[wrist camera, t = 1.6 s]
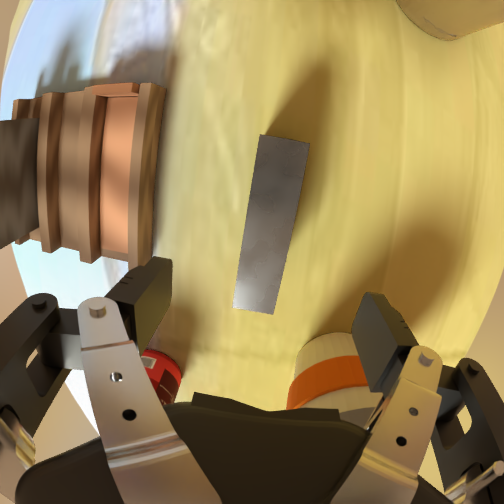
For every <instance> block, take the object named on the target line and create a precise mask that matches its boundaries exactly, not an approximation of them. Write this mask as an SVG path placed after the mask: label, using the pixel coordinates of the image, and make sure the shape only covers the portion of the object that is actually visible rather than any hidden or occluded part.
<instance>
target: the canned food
mask: <svg viewBox="0 0 504 504" xmlns="http://www.w3.org/2000/svg"><path fill="white" fill-rule="evenodd" d="M141 361H142V363H143V365H144V368H145V370H146V372H147V375H148V377H149V379H150V381H151V384H152V386H153V388H154V390H155V392H156V394H157V397H158V399H159V401H160V403H161V405H162V406H163V405H167V404H171V403H174V401H175V398H176V395H177V392H178V389H179V386H180V383H181V371H180V369H179V367H178V365H177V364H176V363H175V362H174V361H173V360H172V359H171V358H169V357H168V356H166V355H165V354H162V353H160V352H157V351H154V350H147V349H145V350H144V352H143V354H142V356H141Z"/></svg>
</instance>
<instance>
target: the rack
mask: <svg viewBox="0 0 504 504" xmlns="http://www.w3.org/2000/svg"><path fill="white" fill-rule="evenodd" d="M165 95H166V89H165V88H163V87H161V86H158V85H156V84H153V83H140V85H139V84H136V83H133V82H132V83H115V84H103V85H93V86H91V87H85V89H84V91H76V92H69V93H58V92H50V93H44V94H43V96H42V97H39V98H34V99H17V100H14V103H13V111H12V120H4V121H0V249H2V248H3V247H5V246H7V245H8V244H10V243H12V242H14V241H15V244H18V245H20V244H22V243H24V242H26V241H27V240H29V239H32V240H36V241H40V242H41V245H42V251H44V252H47V253H53V252H54V251H56V250H57V249H59V248H60V247H65V248H69V249H73V250H77V251H79V253H80V261H82V262H86V263H90V264H92V263H93V262H94V261H96V260H97V259H98V258H99V257H101V256H104V257H108V258H113V259H117V260H122V261H127V262H128V269H129V270H131V269H133V268H135V267H137V266H140V265H141V266H145V265H146V264H147V263H148V261H149V260H150V259H151V258H152V222H153V202H154V187H155V175H156V164H157V154H158V145H159V136H160V129H161V121H162V114H163V107H164V101H165Z"/></svg>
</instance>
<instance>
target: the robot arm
mask: <svg viewBox="0 0 504 504" xmlns="http://www.w3.org/2000/svg"><path fill="white" fill-rule="evenodd" d="M396 1H397V3H398V4H399V6H400V7H401V9H402V10H403V12H404V13H405V14H406V15H407V16H408V18H409V19H410V20H412V21H413V22H414V23H415V24H416V25H417V26H418V27H420V28H421V29H422V30H424V31H425V32H427V33H429V34H430V35H432V36H434V37H437V38H439V39H443V40H455V39H458V38H460V37H463V36H466V35H468V34H471V33H473V32H476V31H479V30H482V29H485V28H487V27H490V26H493V25H496V24H499V23H502V22H504V0H396ZM172 267H173V264H172V260H171V259H167V258H161V257H156V256H153V257H152V258H151V259H150V260H149V261H148V263H147V264H146V265H145V266H141V265H140V266H137V267H135V268H133V269H131V270H129V272H128V273H127V274H126V275H125V276H124V277H123V278H122V279H121V280H120V281H119V282H118V283H117V284H116V285H115V286H114V287H113V288H112V289H111V290H110V291H109V292H108V293H107V294H106V295H105V297H94V298H90V299H87V300H85V301H83V302H82V303H81V304H80V305H79V306H78V309H65V308H59V306H58V301H57V298H56V297H55V296H53V295H51V294H48V293H39V294H35V295H32V296H30V297H29V298H27V299H26V300H25V301H24V302H23V303H22V304H21V305H20V306H18V307H17V308H16V309H15V310H14V311H13V312H12V313H11V314H10V315H9V316H8V317H7V318H6V319H5V320H4V321H3V322H2V323H1V324H0V493H1V494H2V495H4V496H5V497H7V498H8V499H10V500H11V501H12V502H14V503H15V504H504V403H503V401H502V399H501V397H500V396H499V394H498V392H497V390H496V389H495V387H494V385H493V383H492V382H491V380H490V378H489V377H488V375H487V373H486V372H485V370H484V369H483V367H482V366H481V365H480V364H479V363H478V362H476V361H474V360H472V359H470V358H462V359H461V360H460V361H459V363H458V364H457V366H456V367H455V368H453V367H449V366H446V365H443V363H442V359H441V358H440V356H439V355H438V354H437V353H436V352H435V351H434V350H432V349H430V348H428V347H425V346H420V345H419V344H418V342H417V340H416V339H415V337H414V335H413V334H412V332H411V330H410V329H408V328H409V327H408V326H407V324H406V323H405V321H404V319H403V318H402V316H401V314H400V313H399V312H398V311H396V310H395V309H394V308H393V307H391V305H390V304H389V302H388V301H387V299H386V297H385V296H384V295H383V294H378V293H371V292H366V293H365V294H364V296H363V299H362V301H361V304H360V306H359V309H358V312H357V314H356V317H355V319H354V322H353V325H352V338H353V341H354V344H355V347H356V349H357V352H358V355H359V358H360V361H361V364H362V367H363V370H364V374H365V377H366V380H367V383H368V386H369V389H370V393H383V396H382V397H381V399H380V400H379V402H378V404H377V406H376V407H375V409H374V411H373V413H372V414H371V416H370V418H369V419H368V421H367V423H366V424H365V426H364V428H362V427H360V426H358V425H356V424H353V423H351V422H348V421H345V420H342V419H340V414H339V409H327V408H307V407H305V408H297V409H290V410H281V411H264V410H261V409H258V408H255V407H252V406H249V405H246V404H244V403H241V402H238V401H235V400H233V399H229V398H223V397H218V396H212V395H207V394H202V393H197V392H194V395H193V398H192V402H177V403H171V404H167V405H163V406H162V405H161V403H160V401H159V399H158V397H157V394H156V392H155V390H154V388H153V386H152V384H151V381H150V379H149V377H148V375H147V372H146V370H145V368H144V365H143V363H142V361H141V356H142V354H143V352H144V350H145V349H146V347H147V345H148V343H149V341H150V339H151V338H152V336H153V334H154V332H155V330H156V329H157V327H158V325H159V323H160V322H161V320H162V318H163V316H164V314H165V313H166V311H167V309H168V307H169V305H170V301H171V296H172ZM35 349H37V352H38V354H37V355H36V356H35V358H34V359H33V361H32V362H31V363H30V365H29V366H28V367H27V368H26V363H27V360H28V358H29V356H30V355H31V354H32V352H33V351H34V350H35ZM72 369H77V370H84V373H85V378H86V383H87V388H88V392H89V397H90V401H91V405H92V409H93V413H94V416H95V420H96V423H97V427H98V430H99V434H100V436H99V437H97V438H95V439H93V440H91V441H89V442H87V443H84V444H82V445H80V446H77V447H75V448H73V449H71V450H68V451H66V452H64V453H61V454H59V455H57V456H54V457H51V458H49V459H46V460H44V461H42V462H39V463H37V464H35V458H34V457H35V444H34V442H33V440H32V438H33V436H34V434H35V432H36V430H37V428H38V427H39V425H40V423H41V421H42V419H43V417H44V416H45V414H46V412H47V410H48V408H49V407H50V405H51V403H52V401H53V400H54V398H55V396H56V395H57V393H58V391H59V389H60V388H61V386H62V384H63V382H64V381H65V380H66V378H67V376H68V375H69V373H70V371H71V370H72ZM465 405H466V407H467V409H468V411H469V413H470V415H471V418H472V424H471V427H470V430H469V431H468V432H467V433H466V434H464V432H463V429H462V426H461V424H460V421H459V419H458V417H457V414H458V413H459V412H460V411H461V410H462V408H463V407H464V406H465ZM430 439H431V442H432V446H433V449H434V453H435V456H436V460H437V463H438V467H439V471H440V475H441V479H442V483H443V487H444V492H445V493H444V495H443V494H442V493H441V492H439V491H438V490H437V489H436V488H435V487H433V486H432V485H431V484H429V483H428V482H427V481H426V480H424V479H423V478H422V477H421V476H420V475H418V472H419V469H420V466H421V464H422V461H423V459H424V456H425V453H426V450H427V447H428V445H429V442H430Z"/></svg>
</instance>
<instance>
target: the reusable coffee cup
mask: <svg viewBox="0 0 504 504" xmlns="http://www.w3.org/2000/svg"><path fill="white" fill-rule="evenodd" d="M382 396H383V393H370V389H369V386H368V383H367V380H366V377H365V374H364V370H363V367H362V364H361V361H360V358H359V355H358V352H357V349H356V347H355V344H354V341H353V338H352V334H350V333H344V332H335V333H328V334H325V335H321V336H319V337H317V338H314V339H313V340H311V341H310V342H308V343H307V344H306V345H305V346H304V347H303V348H302V349H301V350H300V352H299V354H298V356H297V359H296V365H295V374H294V381H293V382H292V384H291V386H290V388H289V393H288V400H287V407H286V410H290V409H297V408H305V407H307V408H327V409H339V414H340V419H342V420H345V421H348V422H351V423H353V424H356V425H358V426H360V427H362V428H364V426H365V424H366V423H367V421H368V419H369V418H370V416H371V414H372V413H373V411H374V409H375V407H376V406H377V404H378V402H379V400H380V399H381V397H382Z"/></svg>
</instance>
